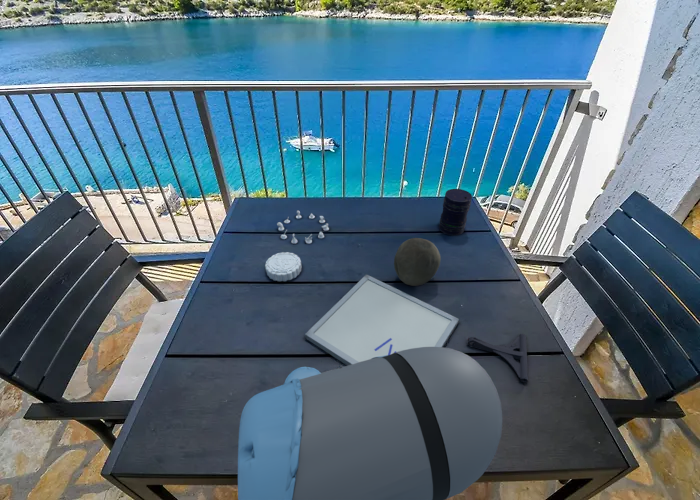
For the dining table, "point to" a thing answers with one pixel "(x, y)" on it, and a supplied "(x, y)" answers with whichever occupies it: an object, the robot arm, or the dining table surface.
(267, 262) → the mooncake
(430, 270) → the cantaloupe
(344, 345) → the board
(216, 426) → the dining table surface
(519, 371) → the bracket
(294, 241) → the game piece set
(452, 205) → the storage jar
